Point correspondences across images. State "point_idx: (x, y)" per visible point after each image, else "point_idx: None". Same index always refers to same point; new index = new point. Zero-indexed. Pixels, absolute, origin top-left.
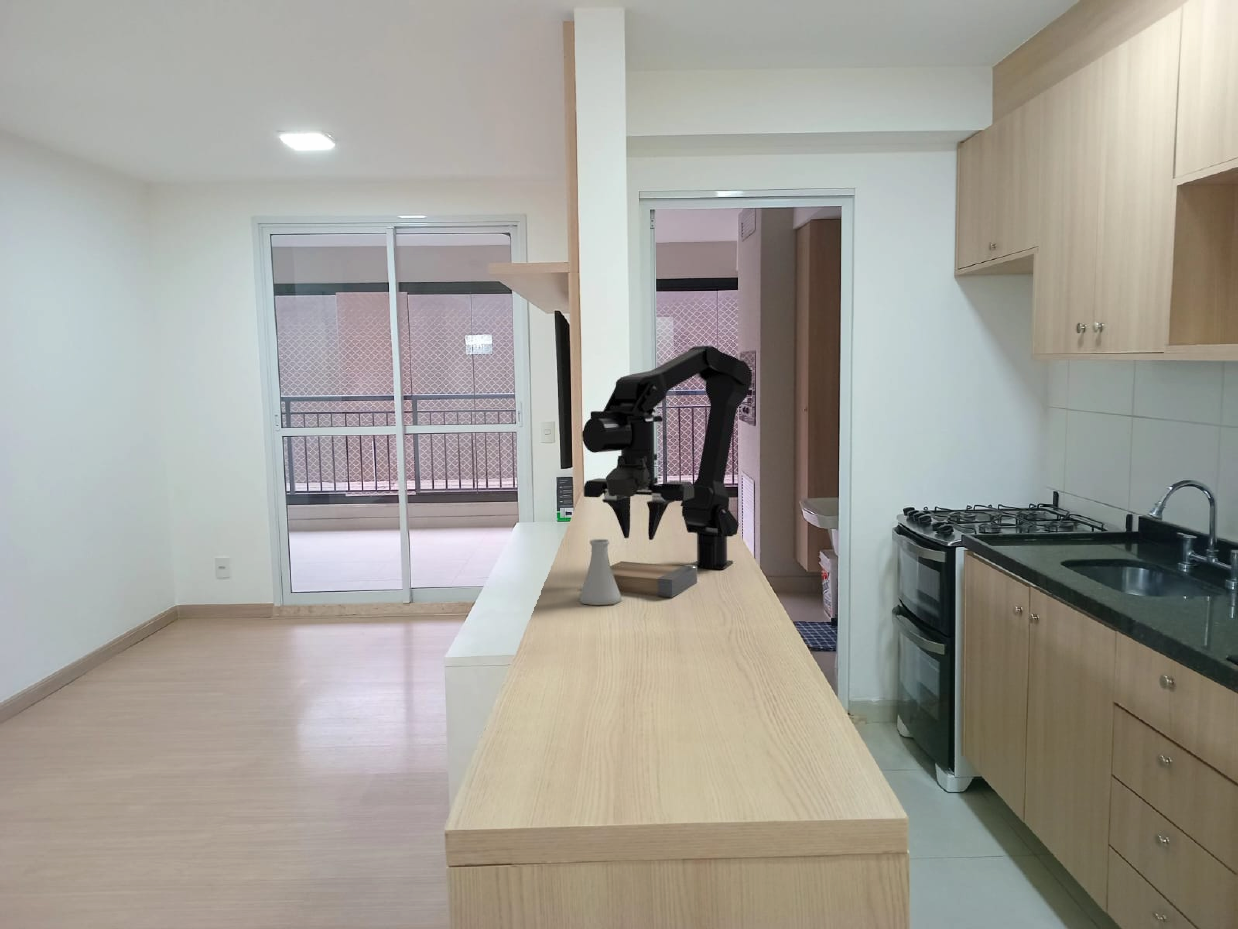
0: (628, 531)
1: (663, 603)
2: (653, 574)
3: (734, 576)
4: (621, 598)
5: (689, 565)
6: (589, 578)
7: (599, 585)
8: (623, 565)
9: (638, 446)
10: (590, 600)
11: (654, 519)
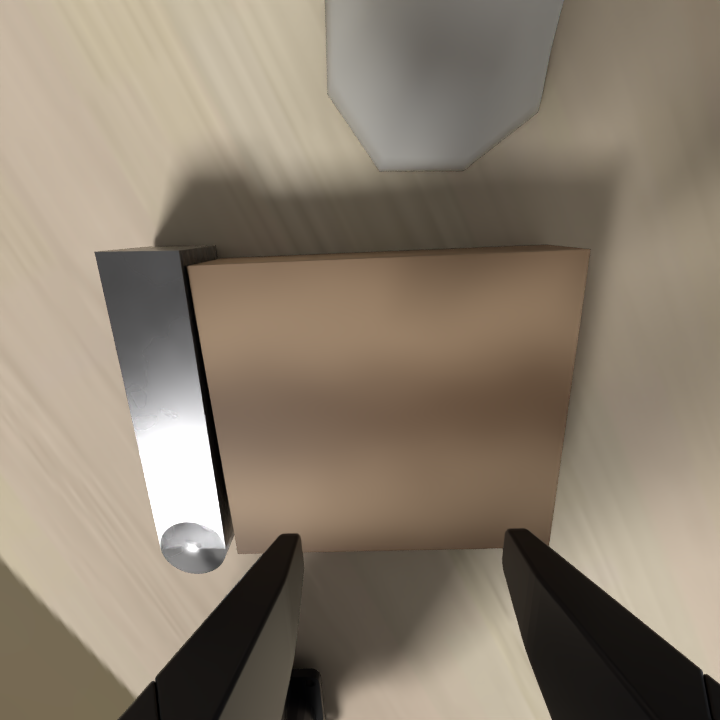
0: (521, 605)
1: (140, 154)
2: (268, 354)
3: (152, 639)
4: (328, 85)
5: (205, 562)
6: None
7: None
8: (503, 478)
9: None
10: None
11: (122, 718)
